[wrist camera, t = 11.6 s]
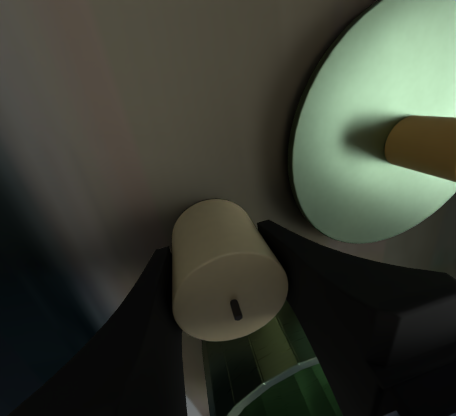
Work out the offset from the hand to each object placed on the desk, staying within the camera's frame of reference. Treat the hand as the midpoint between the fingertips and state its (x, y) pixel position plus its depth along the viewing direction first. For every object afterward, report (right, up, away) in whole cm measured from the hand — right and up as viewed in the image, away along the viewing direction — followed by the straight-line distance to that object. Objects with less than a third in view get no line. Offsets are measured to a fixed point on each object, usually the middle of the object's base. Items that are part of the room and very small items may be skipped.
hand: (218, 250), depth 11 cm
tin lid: (+9, +6, +1) cm, 11 cm away
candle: (0, +1, +1) cm, 1 cm away
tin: (+4, -7, +6) cm, 10 cm away
